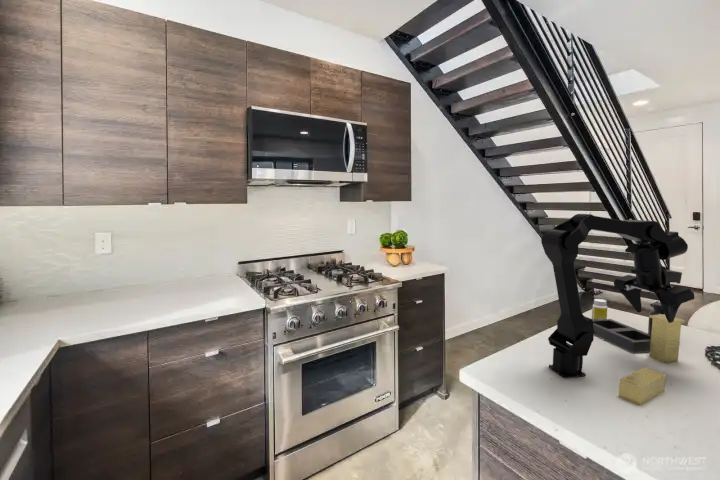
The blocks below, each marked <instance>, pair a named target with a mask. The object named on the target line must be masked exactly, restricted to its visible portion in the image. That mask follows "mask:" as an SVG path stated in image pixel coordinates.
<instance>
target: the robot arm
mask: <svg viewBox="0 0 720 480" xmlns="http://www.w3.org/2000/svg"><path fill="white" fill-rule="evenodd" d="M591 231H598V232H602V233H609V234H616V235H618V236H620V237H622V238H624V239H627V240H630V241H633V242H634V241H635V242H636V241H637V242H640V243H632V242H631V243H629V245H628V246H627V247H626V248H625V249H624V252H625V253H630V254H632V258H633V264H634V266H633V267H634V268H631V270H630V272H631V273H632V274H635V275H631V274H626V275H624V276H620V277H618V278H615V279H614V282H613V286H614V289H616V290H617V291H618V292H619V293H621V295H622V296H623V297H624V298H625V299H626V300H627V301H628V303H629V304H630V305H631V306H632V307H633V309H634V310H635V311H636V312H637V313H641V312H642V300H641V299H642V297H641V293H642V291H646V292H649V293H654V294H657V295H659V297H660V299H661V301H660V302H659V303H661V305H662V308H663V311H664V313H665V316H666V319H667V320H668V322H669V323H672V322H673V321H674V318H675V317H676V315H677V314H678V311H679V309H680V306H681V305H682V304H684V303H687V302H690V301H693V300H695V293H694V290H692V289H691V288H688V287H684V286H683V287H682V286H679V285H675V286H671V287H669V288H665V287H664V286H666V287H667V286H670V285H671V283H673V284H675V283H676V284H681V281H682V275H683V272H682V271H676V270H671V269H667V268H666V266H663V265H662V263H661V261H665V260H669V259H671V258H675V257H678V256H681V255H684V254H686V253H687V251H688V249H689V247H688V243H687V242H686V240H685V239H684V238H683V237H682V236H680V235H679V231H668V232H666V230H664V229H663V228H662V227H661V225H660V223H659V222H658V221H656V220H642V219H624V220H622V219H615V218H609V217H602V216H597V215H593V214H590V213H576V214H574V215H573V216H572V217H570V218H569V219H567V220H565V221H564V222H563V221H562V223H559V224H557V225H555V226H554V227H553V228H551V229H548V230H546V232H544V234H543V235H542V236H541V240H540V241H541V244H542V245H541V246H542V248H543V251H544V254H545V255H546V257H547V258H548V259H549V261H550V262H551V264H552V267H553V274H554V279H555V285H556V291H557V295H558V296H557V297H558V302H559V309H560V315H559V317H558V319H557V320H556V322H557V323H556V329H555V330H553V332H552V333H551V334H550V335H549V336H548V338H547V340H548V343H549V345H550V346H553V347H554V348H553V351H552V352H553V353H552V364H549V365H548V368H550V370H552V371H553V372H555V373H556V374H558V375H559V376H561V377H562V378H575V377H585V376H586V373H585V372H584V371H583V363H584V361H583V360H584V357H585V356H586V357H587V356H588V354H589V351H590V350H591V349H590V348H591V346H592V343H594V337H595V335H593V334H595V331H594V328H593V320H592V318H591V317H587V316H585V315H584V314H583V311H582V304H581V297H580V293H579V286H578V279H577V274H576V269H575V268H576V267H575V260H576V259H577V256H578V255H579V245H581V244H582V243H583V242H584V241H585V240H586V239H587V237H588V236H589V234H590V232H591Z"/></svg>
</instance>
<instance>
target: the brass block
mask: <svg viewBox="0 0 720 480" xmlns="http://www.w3.org/2000/svg"><path fill="white" fill-rule="evenodd" d="M650 318H653V319H652V331H651V344H650V352H649V357H650V358H653V359H655V360H657V361H659V362H661V363H663V364H670V363H678V362H679V353H680V352H679V351H680V342H681V341H680V340H681V330H682V329H681V328H682V324H683V323H685V322H686V320H685V319H682V318H680V317H679V318H678V317H676V316H675V318H674V321H673V322H672V323H669V322H668V320H667V319H666V316H665V314H662V315H650Z"/></svg>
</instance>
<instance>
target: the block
mask: <svg viewBox="0 0 720 480" xmlns="http://www.w3.org/2000/svg"><path fill="white" fill-rule="evenodd" d="M665 386H666V374H665V373H663V372H659V371H656V370H653V369H650V368H647V367H646V366H644V367H642V368H640V369H638V370H636V371H634V372H631V373H630V374H627V375H626V376H623V377H622V378H619V385H618V397H619V398H621V399H625V400H627V401H628V402H632V403H634V404H635V405H636V404H637V405H638V406H642V405H643V404H646V403H647V402H648V401H649V402H650V400H652V399H653V398H655V397H658V395H660V394H662V393H664V392H665V389H666V387H665Z"/></svg>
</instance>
